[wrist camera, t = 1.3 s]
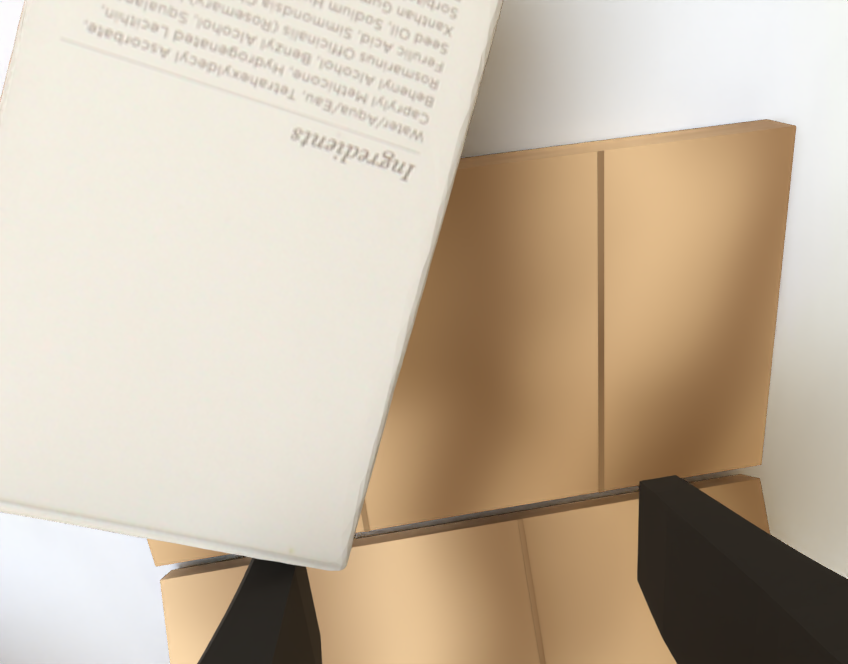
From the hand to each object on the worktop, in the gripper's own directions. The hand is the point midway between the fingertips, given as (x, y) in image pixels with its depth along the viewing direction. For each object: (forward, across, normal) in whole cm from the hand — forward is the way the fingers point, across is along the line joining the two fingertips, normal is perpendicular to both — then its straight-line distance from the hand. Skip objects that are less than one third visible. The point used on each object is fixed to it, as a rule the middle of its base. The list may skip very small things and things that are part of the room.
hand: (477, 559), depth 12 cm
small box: (+6, +1, -10) cm, 12 cm away
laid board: (+9, -1, 0) cm, 9 cm away
